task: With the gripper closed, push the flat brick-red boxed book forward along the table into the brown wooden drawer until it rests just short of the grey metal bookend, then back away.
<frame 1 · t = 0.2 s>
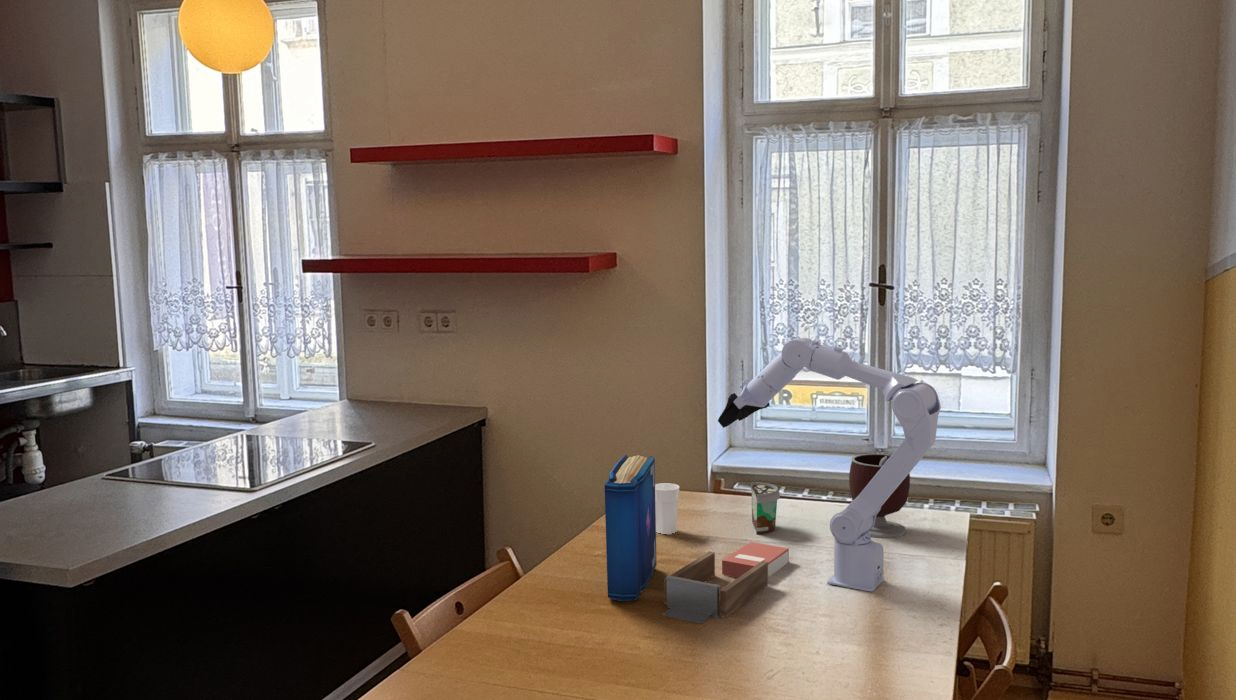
hand: (729, 420, 214), 31 cm above the table, tool tilted 45°, fingers open, 7 cm apart
brown wooden drawer: (717, 594, 196), on the table
boxed book: (755, 570, 211), on the table
book: (631, 586, 202), on the table
food container: (767, 529, 239), on the table
mate gourd: (879, 531, 235), on the table
cup: (666, 532, 238), on the table
bookend: (693, 611, 188), on the table
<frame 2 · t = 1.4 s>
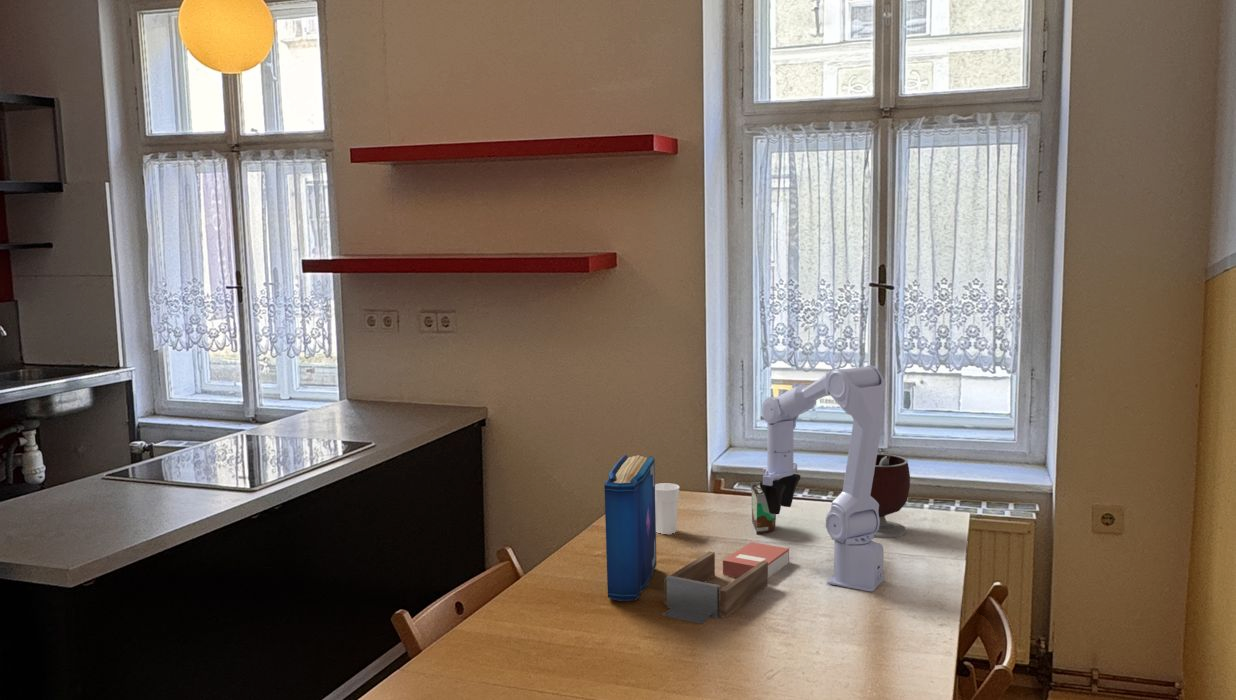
hand: (780, 509, 221), 9 cm above the table, tool pointing down, fingers open, 6 cm apart
nothing on the table moved.
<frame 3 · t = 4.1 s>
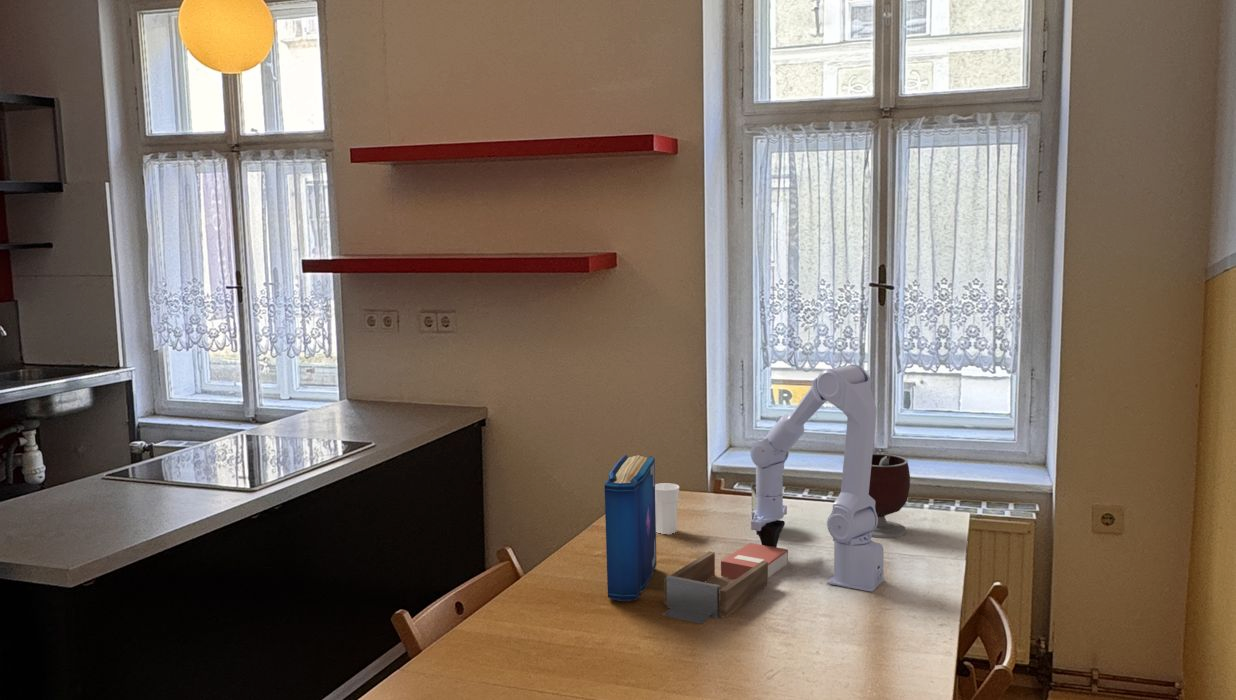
hand: (769, 553, 217), 1 cm above the table, tool pointing down, fingers closed
boxed book: (754, 571, 210), on the table, touching gripper
everything else where it was.
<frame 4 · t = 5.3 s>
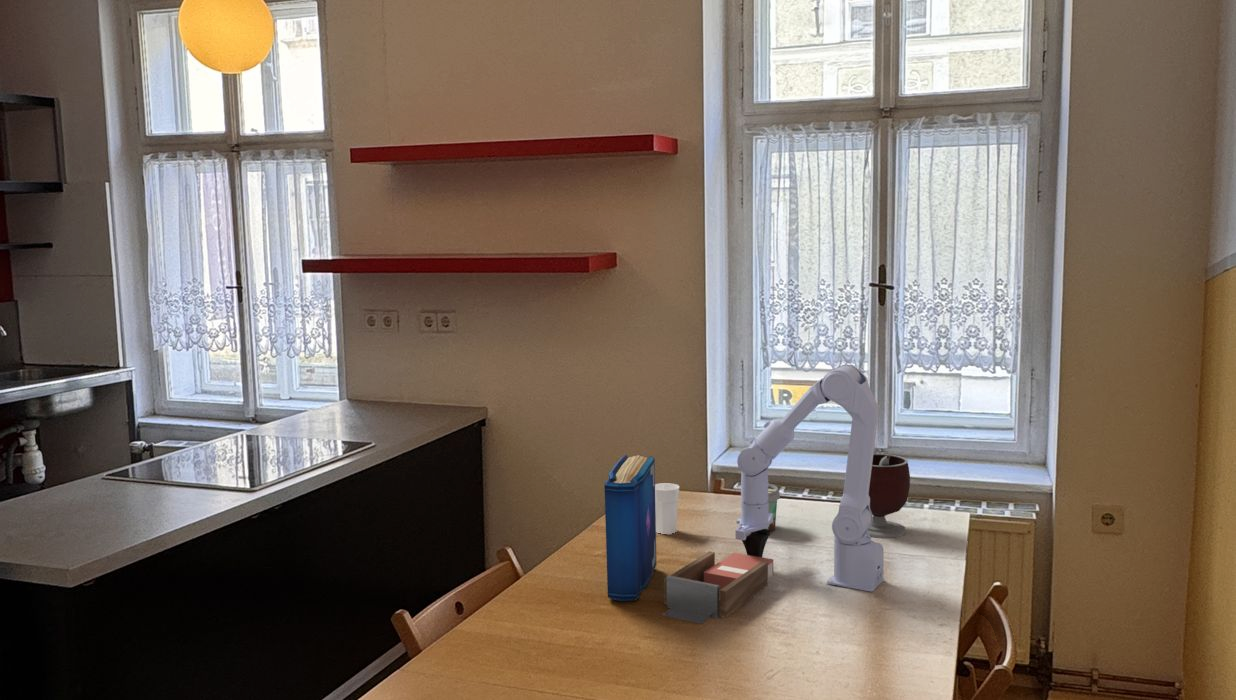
hand: (754, 563, 211), 1 cm above the table, tool pointing down, fingers closed
boxed book: (739, 582, 204), on the table
everything else where it was.
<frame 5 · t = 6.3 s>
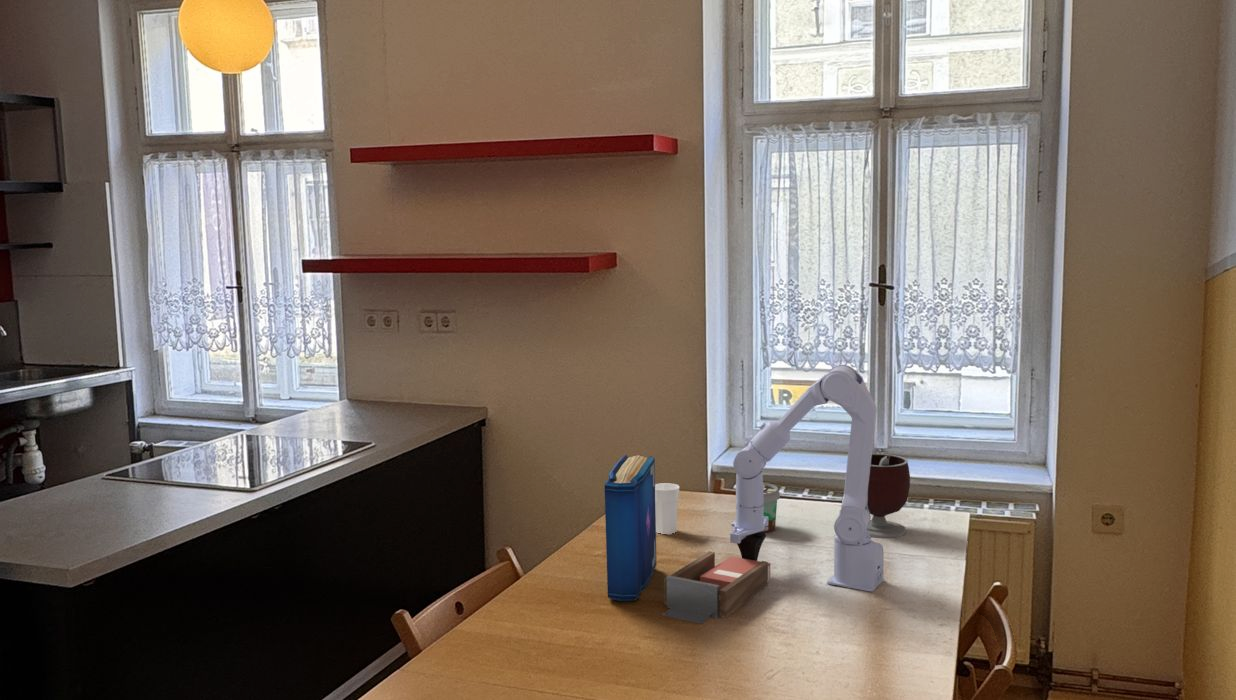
hand: (749, 567, 209), 1 cm above the table, tool pointing down, fingers closed
boxed book: (735, 586, 202), on the table, touching gripper
everything else where it was.
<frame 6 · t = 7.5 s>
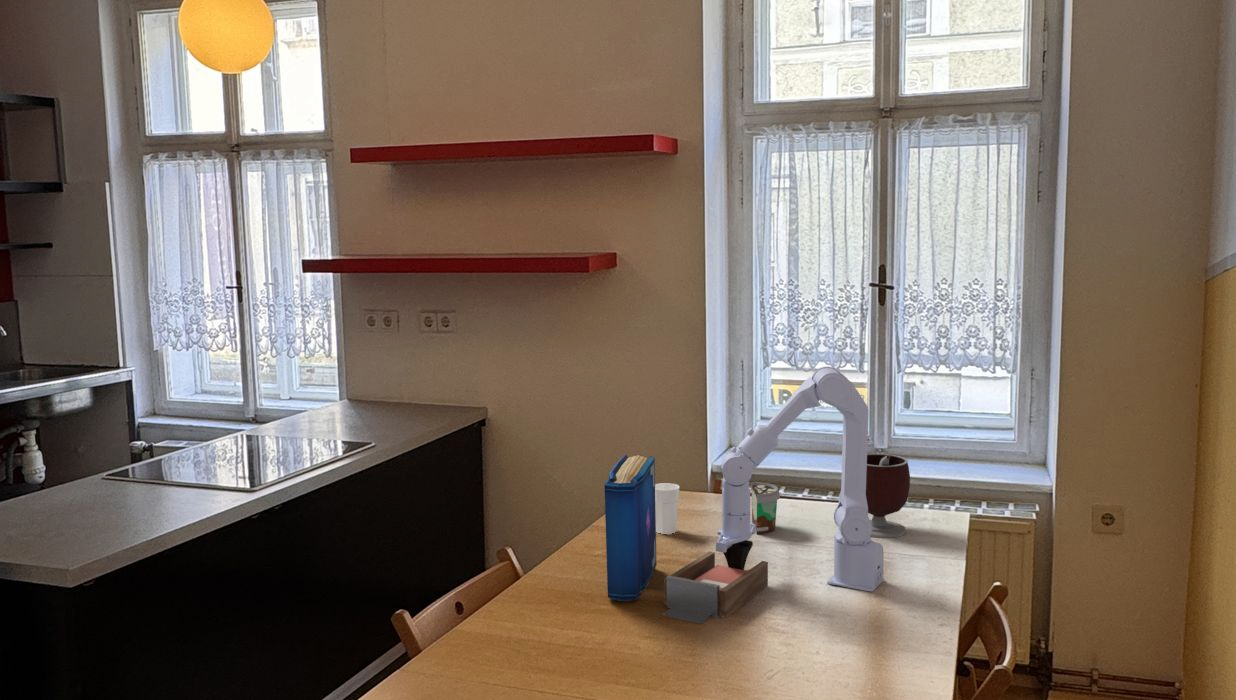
hand: (736, 576, 204), 1 cm above the table, tool pointing down, fingers closed
boxed book: (721, 596, 196), on the table
everything else where it was.
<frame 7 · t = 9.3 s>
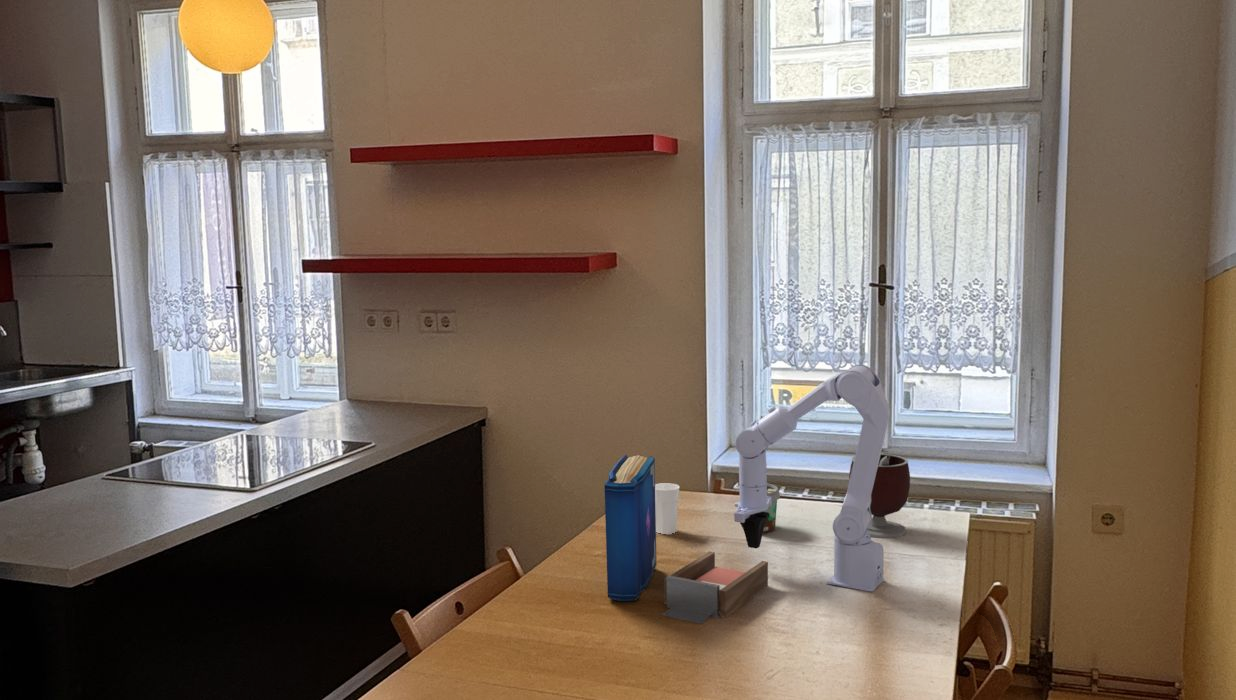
hand: (753, 547, 210), 5 cm above the table, tool pointing down, fingers closed
nothing on the table moved.
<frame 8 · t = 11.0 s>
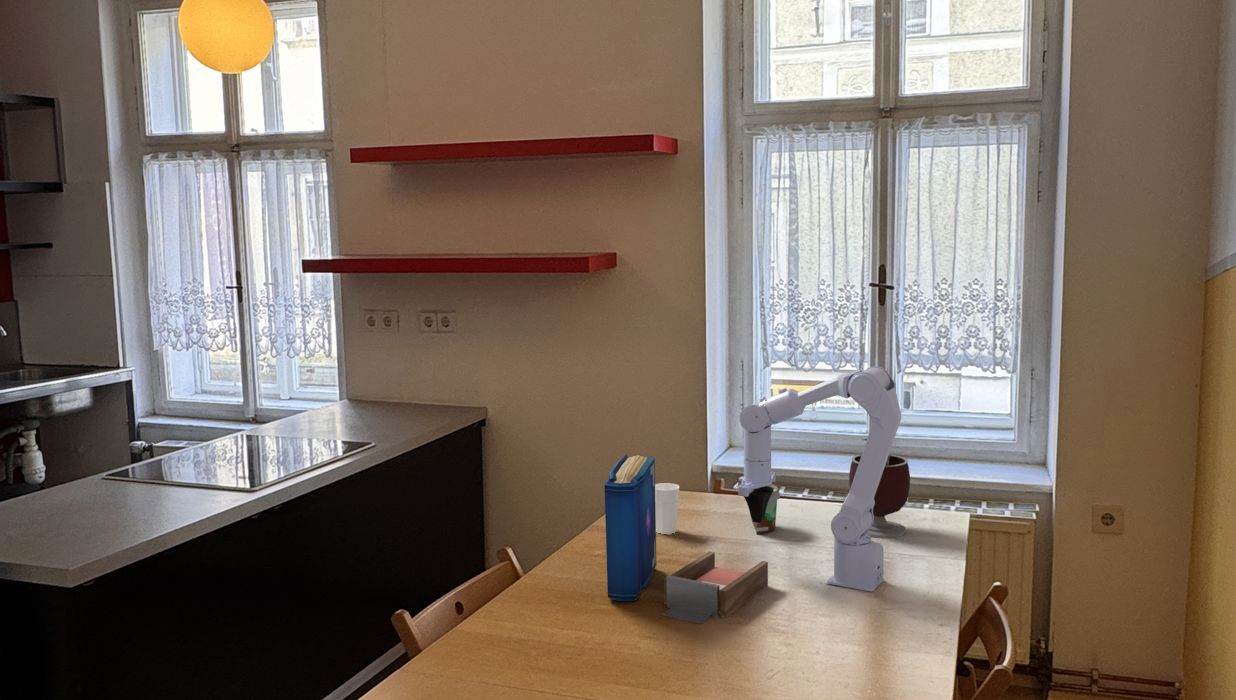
hand: (757, 521, 211), 10 cm above the table, tool pointing down, fingers closed
nothing on the table moved.
at the end: boxed book inside the target area (0.8 cm from its centre), on the table; boxed book tilted 0°; boxed book moved 18.3 cm from its start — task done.
